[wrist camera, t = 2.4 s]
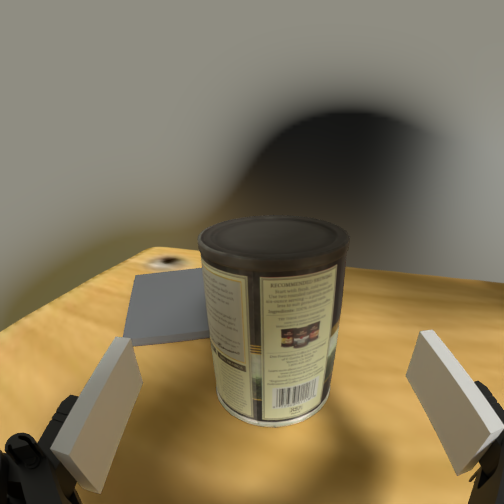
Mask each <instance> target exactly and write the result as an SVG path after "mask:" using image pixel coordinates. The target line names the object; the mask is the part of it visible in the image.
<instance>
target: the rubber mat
mask: <svg viewBox="0 0 504 504" xmlns="http://www.w3.org/2000/svg"><path fill="white" fill-rule="evenodd" d="M123 337H124V338H131V341H132V345H133V346H142V345H152V344H161V343H170V342H179V341H187V340H195V339H203V338H210V333H209V325H208V316H207V308H206V299H205V290H204V281H203V272H202V268H196V269H188V270H179V271H170V272H161V273H152V274H143V275H136V276H135V280H134V284H133V289H132V293H131V298H130V303H129V308H128V313H127V318H126V323H125V328H124V334H123Z"/></svg>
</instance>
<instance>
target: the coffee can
mask: <svg viewBox="0 0 504 504" xmlns="http://www.w3.org/2000/svg"><path fill="white" fill-rule="evenodd" d="M349 242H350V236H349V235H348V233H347V232H346V231H345V230H344V229H342V228H341V227H339V226H337V225H334V224H332V223H330V222H326V221H323V220H318V219H313V218H308V217H299V216H281V215H270V216H254V217H245V218H239V219H233V220H228V221H224V222H221V223H218V224H215V225H213V226H210V227H208V228H207V229H205V230H204V231H202V232H201V233H200V234H199V236H198V247H199V251H200V253H201V262H202V272H203V281H204V290H205V299H206V308H207V316H208V325H209V333H210V341H211V349H212V357H213V364H214V371H215V378H216V392H217V396H218V399H219V401H220V402H221V404H222V406H223V407H224V408H225V409H226V410H227V411H228V412H229V413H230V414H231V415H233V416H235V417H236V418H238V419H240V420H242V421H244V422H246V423H249V424H253V425H257V426H263V427H281V426H288V425H293V424H296V423H299V422H302V421H304V420H306V419H308V418H310V417H311V416H313V415H314V414H315V413H317V412H318V411H319V410H320V409H321V408H322V407H323V405H324V404H325V403H326V401H327V399H328V396H329V393H330V382H331V376H332V371H333V365H334V358H335V351H336V344H337V337H338V329H339V321H340V314H341V306H342V296H343V286H344V276H345V264H346V253H347V251H348V248H349Z"/></svg>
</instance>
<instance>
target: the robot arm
mask: <svg viewBox="0 0 504 504" xmlns="http://www.w3.org/2000/svg"><path fill="white" fill-rule="evenodd" d="M406 377H407V379H408V381H409V383H410V384H411V386H412V388H413V390H414V392H415V393H416V395H417V397H418V399H419V401H420V403H421V405H422V406H423V408H424V410H425V412H426V414H427V416H428V418H429V420H430V422H431V424H432V426H433V427H434V429H435V431H436V433H437V435H438V437H439V439H440V441H441V443H442V445H443V447H444V449H445V452H446V454H447V456H448V458H449V460H450V462H451V464H452V466H453V468H454V470H455V473H456V475H457V476H458V475H461V474H463V473H465V472H468V471H470V470H472V469H473V467H474V466H475V465H476V464H477V463H478V461H479V463H480V465H481V467H480V468H479V469H478V470H477V471H476V472H475V473H474V475H473V476H472V477H471V478H470V480H469V482H471V481H472V480H473V479H474V478H475V477H476V479H475V482H474V486H473V489H472V492H471V496H470V499H469V502H468V504H504V410H503V408H502V407H501V406H500V404H499V403H497V400H496V399H495V397H494V396H492V393H491V392H490V391H489V389H488V388H487V387H486V386H485V385H483V384H482V383H481V382H479V381H475V382H473V380H472V379H471V378H470V376H469V375H468V374H467V372H466V371H465V370H464V368H463V367H462V366H461V365H460V363H459V362H458V361H457V359H456V358H455V357H454V356H453V354H452V353H451V352H450V350H449V349H448V348H447V347H446V345H445V344H444V343H443V342H442V340H441V339H440V338H439V337H438V336H437V334H436V333H435V332H434V331H433V330H426V331H420V332H419V335H418V339H417V342H416V345H415V349H414V352H413V355H412V358H411V361H410V364H409V367H408V370H407V373H406ZM142 384H143V381H142V377H141V374H140V371H139V367H138V364H137V360H136V356H135V353H134V349H133V345H132V341H131V338H124V337H115V339H114V340H113V342H112V343H111V345H110V346H109V348H108V350H107V351H106V353H105V354H104V356H103V358H102V359H101V361H100V362H99V364H98V366H97V367H96V369H95V371H94V372H93V374H92V376H91V377H90V379H89V381H88V382H87V384H86V386H85V387H84V389H83V391H82V392H81V394H80V396H79V397H78V396H74V395H70V396H69V397H67V398H66V399H65V400H64V401H62V402H61V404H60V406H59V407H58V409H57V411H56V413H55V414H54V416H53V417H52V421H50V422H49V424H48V426H47V427H46V429H45V431H44V433H43V434H42V436H41V438H40V440H39V441H38V443H37V442H36V441H35V440H34V438H33V437H32V436H30V435H29V434H26V433H17V434H15V435H12V436H11V437H10V438H9V439H8V440H7V442H6V444H5V452H6V453H3V452H2V451H1V450H0V504H82V502H81V500H80V497H79V495H78V493H77V491H76V490H75V486H76V483H78V484H79V485H80V486H81V487H82V488H83V489H85V490H88V491H91V492H95V493H98V494H101V492H102V489H103V486H104V484H105V481H106V478H107V475H108V472H109V470H110V467H111V464H112V461H113V459H114V456H115V453H116V451H117V448H118V445H119V443H120V440H121V437H122V435H123V432H124V430H125V427H126V424H127V422H128V419H129V417H130V414H131V412H132V409H133V407H134V404H135V402H136V399H137V397H138V394H139V392H140V389H141V387H142Z"/></svg>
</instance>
